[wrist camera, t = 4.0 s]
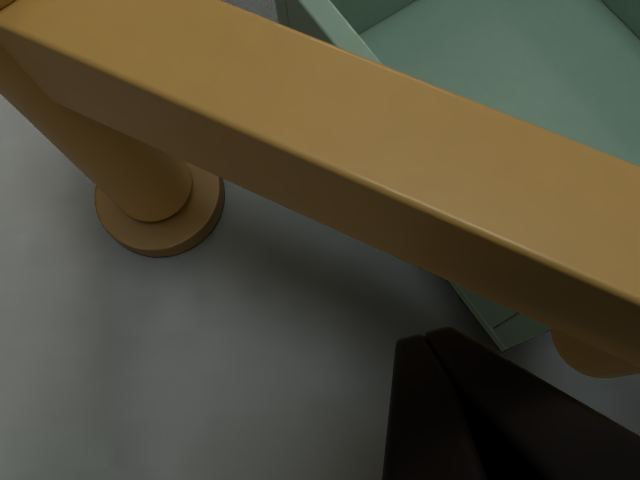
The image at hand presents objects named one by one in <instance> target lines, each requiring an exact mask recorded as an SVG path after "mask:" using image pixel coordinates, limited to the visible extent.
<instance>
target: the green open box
mask: <svg viewBox="0 0 640 480" xmlns="http://www.w3.org/2000/svg"><path fill="white" fill-rule="evenodd" d="M275 3H276V9H277V15H278V22H279V24H281V25H284V26H286V27H289V28H292V29H294V30H297V31H299V32H302V33H304V34H307V35H309V36H312V37H314V38H317V39H319V40H322V41H324V42H327V43H329V44H332V45H334V46H337V47H339V48H342V49H344V50H347V51H350V52H352V53H355V54H357V55H360V56H362V57H365V58H367V59H370V60H372V61H375V62H377V63H380V64H382V65H385V66H387V67H390V68H392V69H395V70H397V71H400V72H402V73H405V74H408V75H410V76H413V77H415V78H418V79H420V80H423V81H425V82H428V83H430V84H433V85H435V86H438V87H440V88H443V89H445V90H448V91H450V92H453V93H455V94H458V95H461V96H463V97H466V98H468V99H471V100H473V101H476V102H478V103H481V104H483V105H486V106H488V107H491V108H493V109H496V110H498V111H501V112H503V113H506V114H508V115H511V116H513V117H516V118H519V119H521V120H524V121H526V122H529V123H531V124H534V125H536V126H539V127H541V128H544V129H546V130H549V131H551V132H554V133H556V134H559V135H561V136H564V137H566V138H569V139H571V140H574V141H577V142H579V143H582V144H584V145H587V146H589V147H592V148H594V149H597V150H599V151H602V152H604V153H607V154H609V155H612V156H614V157H617V158H619V159H622V160H624V161H627V162H630V163H632V164H635V165H637V166H640V0H275ZM448 282H449V283H450V284H451V286H452V287H453V288H454V290H455V291H456V292H457V294H458V295H459V296H460V298H461V299H462V300H463V301H464V303H465V304H466V305H467V307H468V308H469V309H470V311H471V312H472V313H473V315H474V316H475V317H476V319H477V320H478V321H479V323H480V324H481V325H482V326H483V328H484V329H485V330H486V332H487V333H488V334H489V336H490V337H491V338H492V340H493V341H494V342H495V344H496V345H497V346H498V347H499V349H500V350H501V351H505V350H507V349H509V348H512V347H514V346H516V345H518V344H521V343H523V342H525V341H527V340H530V339H532V338H534V337H536V336H538V335H541V334H543V333H545V332H547V331H550V330H551V327H550V326H547V325H545V324H543V323H541V322H539V321H536V320H534V319H532V318H530V317H528V316H525V315H523V314H521V313H519V312H517V311H514V310H512V309H510V308H508V307H505V306H503V305H501V304H499V303H497V302H494V301H492V300H490V299H488V298H486V297H483V296H481V295H479V294H477V293H475V292H472V291H470V290H468V289H466V288H464V287H461V286H459V285H457V284H455V283H453V282H450V281H448Z"/></svg>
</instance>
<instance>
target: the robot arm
mask: <svg viewBox="0 0 640 480" xmlns="http://www.w3.org/2000/svg"><path fill="white" fill-rule="evenodd" d="M382 480H640V436H638V435H637V434H635V433H633V432H631V431H630V430H628V429H626V428H625V427H623V426H621V425H619V424H618V423H616V422H614V421H613V420H611V419H609V418H607V417H606V416H604V415H602V414H600V413H599V412H597V411H595V410H594V409H592V408H590V407H588V406H587V405H585V404H583V403H582V402H580V401H578V400H576V399H575V398H573V397H571V396H569V395H568V394H566V393H564V392H563V391H561V390H559V389H557V388H556V387H554V386H552V385H551V384H549V383H547V382H545V381H544V380H542V379H540V378H539V377H537V376H535V375H533V374H532V373H530V372H528V371H526V370H525V369H523V368H521V367H520V366H518V365H516V364H514V363H513V362H511V361H509V360H508V359H506V358H504V357H502V356H501V355H499V354H497V353H495V352H494V351H492V350H490V349H489V348H487V347H485V346H483V345H482V344H480V343H478V342H477V341H475V340H473V339H471V338H470V337H468V336H466V335H465V334H463V333H461V332H459V331H458V330H456V329H454V328H452V327H444V328H440V329H436V330H432V331H428V332H426V333H425V335H424V336H423V335H421V334H417V335H413V336H409V337H405V338H402V339H399V340H398V341H397V342H396V347H395V357H394V367H393V377H392V387H391V396H390V406H389V416H388V426H387V436H386V446H385V456H384V466H383V476H382Z"/></svg>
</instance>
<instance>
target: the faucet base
mask: <svg viewBox="0 0 640 480" xmlns="http://www.w3.org/2000/svg"><path fill="white" fill-rule="evenodd" d="M185 162H186V161H185ZM186 164H187V166H188V168H189V170H190V173H191V177H192V186H191V191H190V194H189V197H188V199H187V201H186V202H185V204H184V205H183V206H182V207H181V208H180V209H179V210H178V211H177V212H176V213H174V214H173V215H171V216H169V217H168V218H165V219H162V220H159V221H149V222H147V221H140V220H137V219H134V218H132V217H130V216H129V215H127V214H126V213H125V212H124V211H123V210H122V209H121V208H120V207H119V206H117V205H116V204H115V203H114V202H113V201H112V200H111V199H110V198H109V197H108V196H107V195H106V194H105V193H104V192H103V191H102V190H101V189H100V188H99V187H98V186H97V185H96V188H95V206H96V211H97V215H98V218H99V220H100V222H101V224H102V225H103V227H104V228H105V230H106V231H107V232H108V233H109V234H110V235H111V236H112V237H113V238H114V239H116V240H117V241H118V242H119V243H121V244H122V245H123V246H124V247H126V248H127V249H129V250H131V251H133V252H136V253H138V254H141V255H145V256H152V257H164V256H171V255H175V254H179V253H181V252H184V251H186V250H188V249H190V248H192V247H194V246H195V245H197V244H198V243H199V242H201V241H202V240H203V239H204V238H205V237H206V236H207V235H208V234H209V233H210V232H211V231H212V229H213V228H214V226H215V225H216V223H217V221H218V219H219V217H220V215H221V212H222V209H223V205H224V196H225V192H224V184H223V180H222V178H221V177H219V176H217V175H214V174H212V173H210V172H208V171H206V170H203V169H201V168H199V167H197V166H194V165H192V164H190V163H188V162H186Z"/></svg>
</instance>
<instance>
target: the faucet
mask: <svg viewBox="0 0 640 480" xmlns="http://www.w3.org/2000/svg"><path fill="white" fill-rule="evenodd" d="M0 94H1V95H3V96H4V97H5V98H6V99H7V100H8V101H9V102H10V103H11V104H12V105H13V106H14V107H15V108H16V109H17V110H18V111H19V112H20V113H21V114H22V115H23V116H24V117H26V118H27V119H28V120H29V121H30V122H31V123H32V124H33V125H34V126H35V127H36V128H37V129H38V130H39V131H40V132H41V133H42V134H43V135H44V136H45V137H46V138H47V139H49V140H50V141H51V142H52V143H53V144H54V145H55V146H56V147H57V148H58V149H59V150H60V151H61V152H62V153H63V154H64V155H65V156H66V157H67V158H68V159H69V160H70V161H72V162H73V163H74V164H75V165H76V166H77V167H78V168H79V169H80V170H81V171H82V172H83V173H84V174H85V175H86V176H87V177H88V178H89V179H90V180H91V181H92V182H93V183H95V184H96V185H97V186H98V187H99V188H100V189H101V190H102V191H103V192H104V193H105V194H106V195H107V196H108V197H109V198H110V199H111V200H112V201H113V202H114V203H115V204H116V205H117V206H119V207H120V208H121V209H122V210H123V211H124V212H125V213H126V214H127V215H129V216H130V217H132V218H134V219H137V220H140V221H147V222H149V221H159V220H162V219H165V218H168V217H169V216H171V215H173V214H174V213H176V212H177V211H178V210H179V209H180V208H181V207H182V206H183V205H184V204H185V202H186V201H187V199H188V197H189V194H190V191H191V186H192V177H191V173H190V170H189V168H188V166H187V164H186V162H188V163H190V164H192V165H194V166H197V167H199V168H201V169H203V170H206V171H208V172H210V173H212V174H214V175H217V176H219V177H221V178H223V179H225V180H228V181H230V182H232V183H234V184H236V185H239V186H241V187H243V188H245V189H247V190H250V191H252V192H254V193H256V194H258V195H261V196H263V197H265V198H267V199H269V200H272V201H274V202H276V203H278V204H281V205H283V206H285V207H287V208H289V209H292V210H294V211H296V212H298V213H300V214H303V215H305V216H307V217H309V218H311V219H314V220H316V221H318V222H320V223H322V224H325V225H327V226H329V227H331V228H333V229H336V230H338V231H340V232H342V233H344V234H347V235H349V236H351V237H353V238H356V239H358V240H360V241H362V242H364V243H367V244H369V245H371V246H373V247H375V248H378V249H380V250H382V251H384V252H386V253H389V254H391V255H393V256H395V257H397V258H400V259H402V260H404V261H406V262H408V263H411V264H413V265H415V266H417V267H419V268H422V269H424V270H426V271H428V272H430V273H433V274H435V275H437V276H439V277H442V278H444V279H446V280H448V281H450V282H453V283H455V284H457V285H459V286H461V287H464V288H466V289H468V290H470V291H472V292H475V293H477V294H479V295H481V296H483V297H486V298H488V299H490V300H492V301H494V302H497V303H499V304H501V305H503V306H505V307H508V308H510V309H512V310H514V311H517V312H519V313H521V314H523V315H525V316H528V317H530V318H532V319H534V320H536V321H539V322H541V323H543V324H545V325H547V326H550V327H551V335H552V339H553V342H554V345H555V347H556V349H557V351H558V353H559V354H560V356H561V357H562V358H563V359H564V360H565V362H566V363H568V364H569V365H570V366H571V367H572V368H574V369H575V370H577V371H578V372H580V373H582V374H585V375H587V376H590V377H594V378H614V377H620V376H625V375H631V374H637V373H640V166H637V165H635V164H632V163H630V162H627V161H624V160H622V159H619V158H617V157H614V156H612V155H609V154H607V153H604V152H602V151H599V150H597V149H594V148H592V147H589V146H587V145H584V144H582V143H579V142H577V141H574V140H571V139H569V138H566V137H564V136H561V135H559V134H556V133H554V132H551V131H549V130H546V129H544V128H541V127H539V126H536V125H534V124H531V123H529V122H526V121H524V120H521V119H519V118H516V117H513V116H511V115H508V114H506V113H503V112H501V111H498V110H496V109H493V108H491V107H488V106H486V105H483V104H481V103H478V102H476V101H473V100H471V99H468V98H466V97H463V96H461V95H458V94H455V93H453V92H450V91H448V90H445V89H443V88H440V87H438V86H435V85H433V84H430V83H428V82H425V81H423V80H420V79H418V78H415V77H413V76H410V75H408V74H405V73H402V72H400V71H397V70H395V69H392V68H390V67H387V66H385V65H382V64H380V63H377V62H375V61H372V60H370V59H367V58H365V57H362V56H360V55H357V54H355V53H352V52H350V51H347V50H344V49H342V48H339V47H337V46H334V45H332V44H329V43H327V42H324V41H322V40H319V39H317V38H314V37H312V36H309V35H307V34H304V33H302V32H299V31H297V30H294V29H292V28H289V27H286V26H284V25H281V24H279V23H276V22H274V21H271V20H269V19H266V18H264V17H261V16H259V15H256V14H254V13H251V12H249V11H246V10H244V9H241V8H239V7H236V6H233V5H231V4H228V3H226V2H223V1H221V0H0ZM185 161H186V162H185Z"/></svg>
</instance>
